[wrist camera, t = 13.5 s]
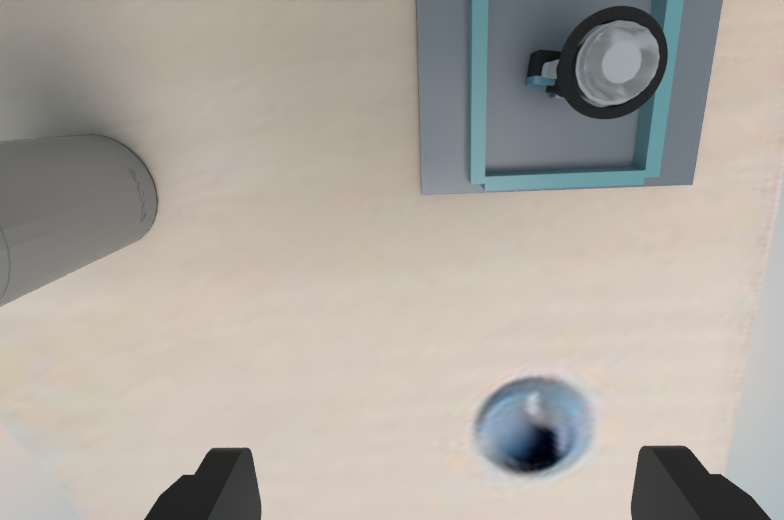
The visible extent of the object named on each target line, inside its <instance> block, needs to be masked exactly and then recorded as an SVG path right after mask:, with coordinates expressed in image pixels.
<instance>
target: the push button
mask: <svg viewBox="0 0 784 520" xmlns="http://www.w3.org/2000/svg"><path fill="white" fill-rule="evenodd" d="M603 24H605V25H603ZM598 25H603V26H601V27H599V28H598V29H597V30H596V31H595V32H593V33H592V34H591V35H589V36H587V37H586V38H585V39H584V40H583V41H581V40H582V39H583V37H584V36H585V35H586V34H587V33H588V32H589V31H590V30H592V29H593V28H594V27H596V26H598ZM580 41H581V42H580ZM667 60H668V48H667V42H666V38H665V35H664V32H663V30H662V28H661V27H660V25H659V24H658V22H657V21H656V20H655V19H654V18H653V17H652V16H651V15H649V14H648V13H647V12H645V11H643V10H641V9H638V8H635V7H631V6H613V7H609V8H605V9H602V10H600V11H598V12H596V13H594V14H592V15H590V16H589V17H587V18H586V19H584V20H583V21H582V22H581V23H580V24H579V25H578V26H577V27H576V28H575V29H574V30H573V31H572V33H571V34H570V35H569V37H568V38H567V40H566V42H565V44H564V46H563V48H562V50H561V51H552V50H538V51H535V52H533V53H531V55H530V61H529V67H528V72H527V79H526V84H525V86H529V87H544V88H546V93H555V96H553V97H550V98H555V99H566V101H567V102H568V103H569V105H570V106H571V107H572V108H573V109H575V110H576V111H577V112H579V113H580V114H582V115H585V116H587V117H590V118H595V119H615V118H619V117H622V116H625V115H628V114H630V113H632V112H634V111H635V110H637V109H638V108H640V107H641V106H642V105H644V104H645V103H646V102H647V101H648V100H649V99H650V98H651V97H652V95H653V94H654V93H655V91H656V90H657V88H658V87H659V85H660V83H661V81H662V79H663V76H664V73H665V70H666V66H667ZM584 99H585V100H587V101H590V102H597V103H599V104H602V105H609V106H606V107H597V106H594V105H592V104H590V103H588V102H587V101H585V100H584Z"/></svg>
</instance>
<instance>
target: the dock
mask: <svg viewBox="0 0 784 520" xmlns="http://www.w3.org/2000/svg"><path fill="white" fill-rule="evenodd" d="M722 2H723V0H416V4H417V41H418V78H419V115H420V152H421V189H422V195H434V194H460V193H486V192H513V191H539V190H565V189H591V188H618V187H644V186H670V185H692V184H693V178H694V172H695V166H696V160H697V154H698V148H699V141H700V135H701V129H702V123H703V117H704V111H705V105H706V99H707V93H708V87H709V81H710V75H711V68H712V62H713V56H714V50H715V44H716V38H717V32H718V26H719V20H720V14H721V8H722ZM613 6H631V7H635V8H638V9H641V10H643V11H645V12H647V13H648V14H649V15H651V16H652V17H653V18H654V19H655V20H656V21H657V22H658V24H659V25H660V27H661V28H662V30H663V32H664V35H665V38H666V42H667V48H668V60H667V66H666V70H665V73H664V76H663V79H662V81H661V83H660V85H659V87H658V88H657V90H656V91H655V93H654V94H653V95H652V97H651V98H650V99H649V100H648V101H647V102H646V103H645V104H644V105H642V106H641V107H640V108H638V109H637V110H635V111H634V112H632V113H630V114H628V115H625V116H622V117H619V118H615V119H595V118H590V117H587V116H585V115H582V114H580V113H579V112H577V111H576V110H575V109H573V108H572V107H571V106H570V105H569V103H568V102H567V101H566V99H555V98H550V97H553V96H555V93H546V88H544V87H529V86H525V84H526V79H527V72H528V67H529V61H530V55H531V53H533V52H535V51H538V50H552V51H561V50H562V48H563V46H564V44H565V42H566V40H567V38H568V37H569V35H570V34H571V33H572V31H573V30H574V29H575V28H576V27H577V26H578V25H579V24H580V23H581V22H582V21H583V20H584V19H586V18H587V17H589V16H590V15H592V14H594V13H596V12H598V11H600V10H602V9H605V8H609V7H613ZM603 25H605V24H603ZM603 25H598V26H596V27H594V28H593V29H592V30H590V31H589V32H588V33H587V34H586V35H585V36H584V37H583V39H582V40H581V41H583V40H584V39H585V38H586V37H587V36H589V35H591V34H592V33H593V32H595V31H596V30H597V29H598V28H599V27H601V26H603ZM581 41H580V42H581ZM584 100H585V99H584ZM585 101H587V100H585ZM587 102H588V103H590V104H592V105H594V106H597V107H606V106H609V105H602V104H599V103H597V102H590V101H587Z"/></svg>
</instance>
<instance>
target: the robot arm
mask: <svg viewBox="0 0 784 520" xmlns="http://www.w3.org/2000/svg"><path fill="white" fill-rule="evenodd" d="M156 208H157V198H156V190H155V187H154V184H153V181H152V178H151V177H150V175H149V173H148V171H147V169H146V167H145V166H144V165H143V164H142V162H141V161H140V160H139V159H138V157H137V156H136V155H134V154H133V153H132V152H131V151H130V150H129V149H128V148H126V147H125V146H123V145H121V144H120V143H118V142H116V141H114V140H111V139H109V138H106V137H103V136H97V135H78V136H65V137H52V138H37V139H25V140H13V141H1V142H0V307H1V306H3V305H5V304H7V303H9V302H11V301H13V300H15V299H17V298H19V297H21V296H23V295H26V294H28V293H30V292H32V291H34V290H36V289H38V288H40V287H42V286H44V285H46V284H48V283H50V282H53V281H55V280H57V279H59V278H61V277H63V276H65V275H67V274H69V273H71V272H73V271H75V270H78V269H80V268H82V267H84V266H86V265H88V264H90V263H92V262H94V261H96V260H98V259H101V258H103V257H105V256H107V255H109V254H111V253H113V252H115V251H117V250H119V249H121V248H123V247H125V246H127V245H130V244H131V243H133V242H135V241H137V240H139V239H140V238H141V237H142V236H144V235H145V234H146V233H147V231H148V230H149V228H150V227H151V225H152V224H153V221H154V218H155V215H156ZM631 515H632V520H771V519H770V518H769V516H768V515H767V514H766V513H765V512H764V511H763V510H762V509H761V507H760V506H759V505H758V504H757V503H756V501H755V500H754V499H753V498H752V497H751V496H750V495H748V494H747V493H746V492H744V491H743V490H742V489H740V488H739V487H738V486H736V485H735V484H733V483H732V482H731V481H729V480H728V479H726V478H725V477H724V476H722V475H721V474H709V472H708V471H707V470H706V469H705V467H704V466H703V465H702V464H701V462H700V461H699V460H698V459H697V457H696V456H695V455H694V454H693V453H692V451H691V450H690V449H688V448H687V447H685V446H643V447H642V448H641V449H640V451H639V455H638V462H637V468H636V475H635V481H634V488H633V494H632V501H631ZM144 520H261V500H260V495H259V489H258V484H257V478H256V473H255V467H254V462H253V456H252V453H251V450H250V449H249V448H212V449H211V450H210V451H209V452H208V453H207V454H206V456H205V458H204V459H203V461H202V463H201V464H200V466H199V468H198V470H197V471H196V473H195V475H183V476H181V477H180V478H179V479H178V480H177V481H176V482H175V483H174V484H172V485H171V486H170V487H169V488H168V489H167V490H166V491H165V492H163V493H162V494H161V495H160V496H159V498H158V499H157V501H156V502H155V504H154V505H153V507H152V509H151V510H150V512H149V513H148V515H147V516H146V518H145V519H144Z"/></svg>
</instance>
